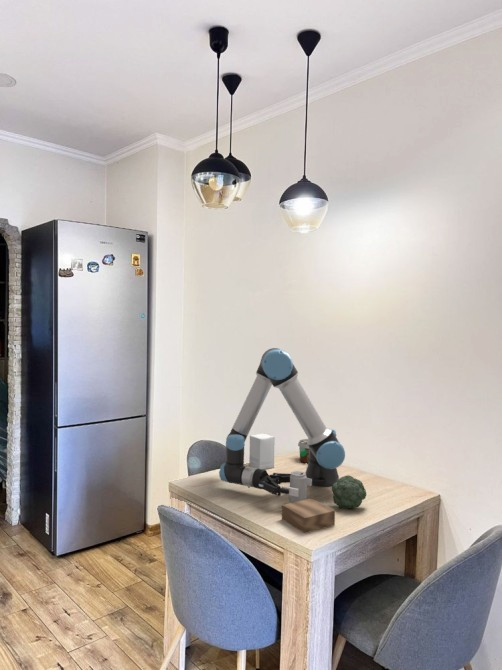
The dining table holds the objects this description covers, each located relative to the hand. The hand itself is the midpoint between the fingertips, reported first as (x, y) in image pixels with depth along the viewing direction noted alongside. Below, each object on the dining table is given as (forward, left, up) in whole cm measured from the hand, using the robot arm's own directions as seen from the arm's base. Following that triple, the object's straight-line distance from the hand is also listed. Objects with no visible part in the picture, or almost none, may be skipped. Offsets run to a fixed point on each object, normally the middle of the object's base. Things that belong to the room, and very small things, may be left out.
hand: (305, 487), depth 181 cm
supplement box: (-13, -50, -7) cm, 52 cm away
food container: (-37, -48, -7) cm, 60 cm away
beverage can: (+1, -3, -7) cm, 8 cm away
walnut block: (+8, +12, -7) cm, 17 cm away
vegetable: (-15, +8, -7) cm, 18 cm away
